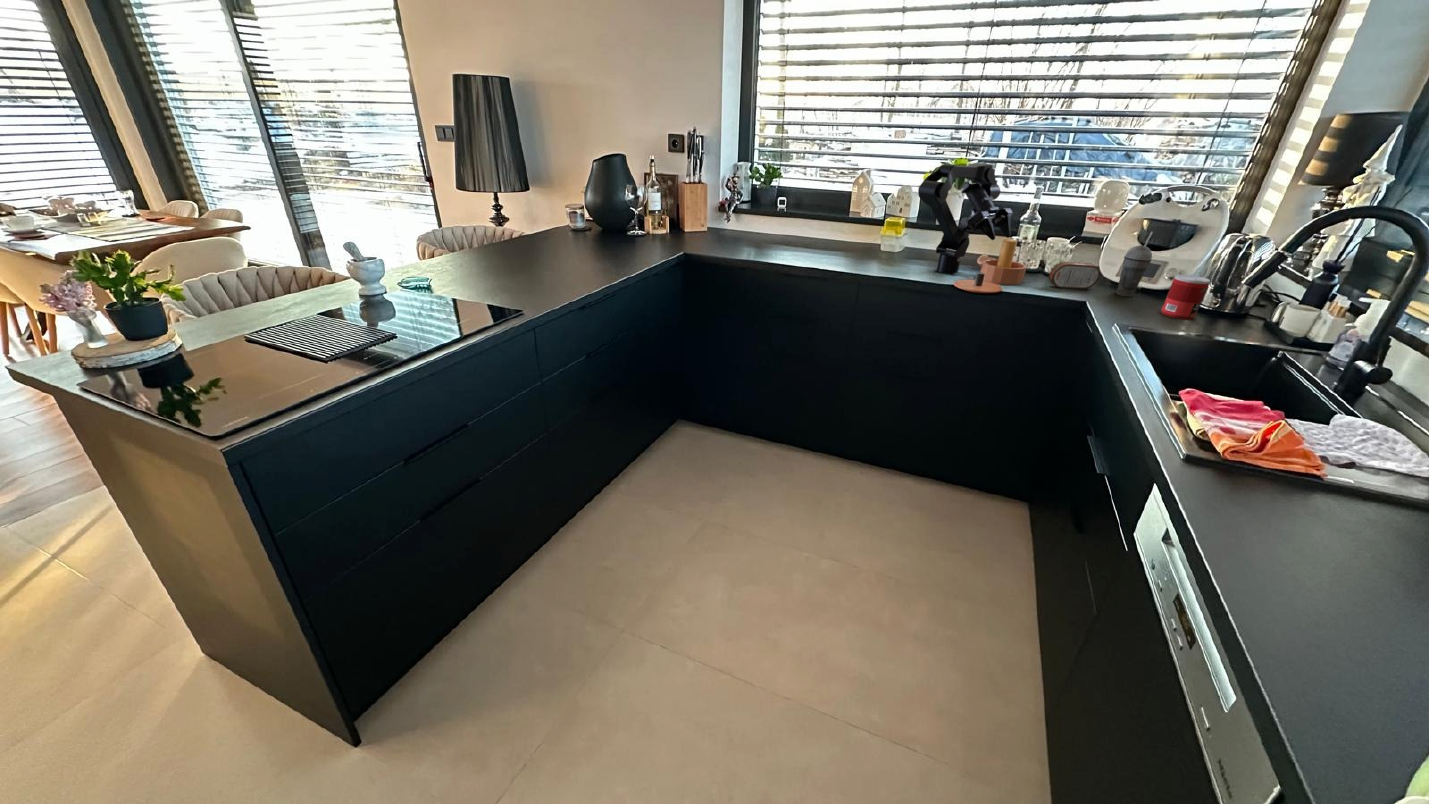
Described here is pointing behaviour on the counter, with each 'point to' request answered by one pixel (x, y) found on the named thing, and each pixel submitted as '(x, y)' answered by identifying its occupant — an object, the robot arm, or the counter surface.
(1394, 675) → the counter surface
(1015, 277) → the pot
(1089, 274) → the tin
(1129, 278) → the beverage cup
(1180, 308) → the canned food
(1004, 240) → the eggroll
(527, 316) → the counter surface
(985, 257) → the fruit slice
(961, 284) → the lid
